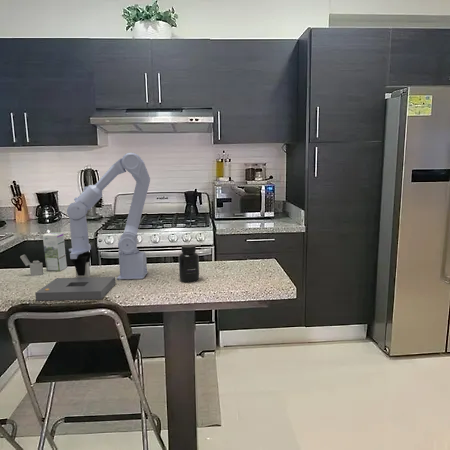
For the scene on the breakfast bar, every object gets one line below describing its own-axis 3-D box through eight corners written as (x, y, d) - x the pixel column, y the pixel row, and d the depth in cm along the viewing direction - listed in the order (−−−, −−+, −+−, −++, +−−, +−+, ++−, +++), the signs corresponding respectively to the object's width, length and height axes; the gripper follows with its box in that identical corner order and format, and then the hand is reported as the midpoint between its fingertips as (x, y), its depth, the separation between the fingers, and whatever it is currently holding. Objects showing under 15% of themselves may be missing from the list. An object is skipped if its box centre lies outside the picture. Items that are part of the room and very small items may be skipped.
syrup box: (67, 267, 157) (64, 231, 155) (59, 271, 151) (56, 234, 149) (53, 267, 158) (50, 231, 155) (45, 271, 152) (42, 234, 150)
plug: (90, 278, 141) (88, 258, 140) (87, 280, 138) (86, 260, 137) (79, 278, 141) (77, 258, 140) (76, 280, 138) (74, 260, 137)
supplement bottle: (191, 284, 132) (190, 249, 130) (175, 281, 135) (174, 247, 133) (203, 278, 137) (202, 245, 135) (187, 276, 141) (186, 243, 139)
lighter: (43, 273, 149) (41, 253, 148) (42, 274, 148) (40, 254, 146) (23, 275, 148) (21, 254, 147) (22, 276, 146) (19, 255, 145)
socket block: (115, 283, 134) (115, 276, 134) (101, 299, 119) (100, 290, 119) (57, 285, 134) (56, 277, 134) (36, 300, 119) (35, 292, 119)
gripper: (76, 232, 144) (79, 268, 146) (59, 240, 130) (63, 280, 132) (95, 232, 144) (98, 268, 146) (80, 240, 130) (84, 279, 132)
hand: (83, 274), depth 139 cm, fingers closed on plug, 3 cm apart
